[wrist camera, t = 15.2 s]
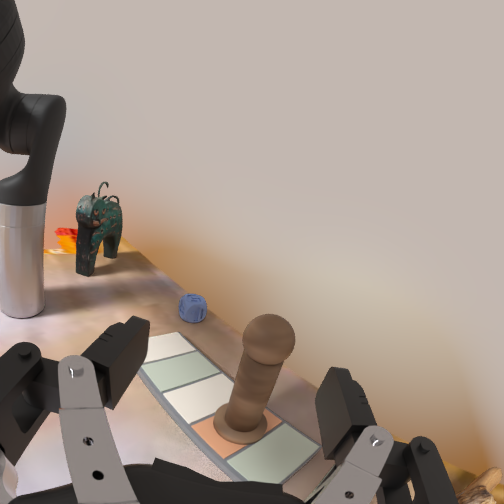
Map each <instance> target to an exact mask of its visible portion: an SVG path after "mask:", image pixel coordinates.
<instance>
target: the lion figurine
mask: <svg viewBox="0 0 504 504" xmlns="http://www.w3.org/2000/svg"><path fill="white" fill-rule="evenodd" d="M501 478H502V472H501V468H497V467H493V468H490V469H488V470H487V471H485V472H483V473H482V474H481V475H480V476H478V477H477V478H476V479H475V480H474V481H473V482H472V483H471V484H470V485H469V486H468V487H467V488H465V489H464V490H463V491H461V492H459V493H457V494H455V495H456V498H457V500H458V503H459V504H496V501H495V500H494V499H493V495H492V494H490V492H491V491H492V490H493V489H494V488H495V486H496V485H497V484H498V483H499V482H500V480H501Z"/></svg>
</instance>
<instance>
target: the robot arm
mask: <svg viewBox="0 0 504 504" xmlns="http://www.w3.org/2000/svg"><path fill="white" fill-rule="evenodd" d="M24 47H25V38H24V33H23V29H22V25H21V22H20V18H19V14H18V11H17V7H16V4H15V1H14V0H0V148H1V149H2V150H3V151H5V152H7V153H11V154H21V155H30V157H29V160H28V163H27V165H26V166H25V168H24V169H23V170H22V171H20V172H18V173H17V174H15V175H13V176H10V177H8V178H5V179H2V180H1V181H0V309H1V311H2V312H3V313H4V314H6V315H8V316H11V317H15V318H26V317H31V316H34V315H36V314H38V313H40V312H41V311H42V310H43V309H44V307H45V296H44V267H43V254H44V227H45V213H46V203H47V202H46V201H47V194H48V189H49V184H50V180H51V174H52V169H53V163H54V159H55V155H56V151H57V147H58V144H59V140H60V137H61V133H62V130H63V126H64V122H65V117H66V102H65V100H64V98H63V97H61V96H58V95H46V94H24V93H20V92H18V91H17V90H16V89H15V87H14V86H13V84H12V82H13V81H14V78H15V76H16V74H17V72H18V69H19V66H20V64H21V61H22V58H23V54H24ZM149 329H150V322H149V321H148V320H145V319H142V318H139V317H136V316H132V317H131V318H130V319H129V320H128V321H127V322H126V323H125V324H123V323H121V322H119V323H116V324H114V325H111V326H109V327H108V328H107V329H106V330H105V331H104V333H102V334H101V335H100V336H99V338H97V339H96V340H95V341H94V342H93V343H92V344H91V345H90V346H89V347H88V348H87V349H86V350H85V351H84V352H83V353H82V354H81V355H80V356H78V355H71V356H67V357H65V358H63V359H62V360H61V361H60V362H59V361H54V360H50V359H47V358H43V357H42V356H41V352H40V349H39V348H38V347H37V346H36V345H35V344H32V343H29V342H21V343H17V344H15V345H14V346H12V347H11V348H10V349H9V350H8V351H7V352H6V353H5V354H3V355H2V356H1V357H0V504H370V502H371V500H372V499H373V497H374V495H375V493H376V496H377V502H378V504H459V503H458V500H457V498H456V495H455V492H454V489H453V487H452V484H451V482H450V479H449V476H448V474H447V471H446V469H445V467H444V464H443V462H442V459H441V457H440V455H439V453H438V450H437V448H436V446H435V444H434V443H433V442H432V441H431V440H430V439H428V438H426V437H422V436H418V437H415V438H413V440H412V441H411V442H410V443H409V444H406V443H402V442H397V441H394V440H393V437H392V435H391V434H390V432H388V431H387V430H386V429H384V428H382V427H380V426H377V423H376V421H375V418H374V416H373V413H372V410H371V408H370V405H368V401H367V398H366V395H365V393H364V390H363V388H362V387H361V386H360V385H359V384H358V383H357V382H356V381H354V380H352V377H351V375H350V372H349V370H348V369H345V368H338V367H331V368H330V369H329V371H328V372H327V374H326V376H325V379H324V380H323V382H322V384H321V386H320V388H319V390H318V392H317V394H316V398H315V405H316V411H317V417H318V422H319V428H320V434H321V440H322V446H323V452H324V458H325V460H335V465H334V466H333V467H332V468H331V469H330V471H329V472H328V473H327V475H326V476H325V477H324V478H323V480H322V481H321V482H320V483H319V485H318V486H317V487H316V488H315V489H314V491H313V492H312V493H311V494H310V495H309V496H308V497H307V498H306V499H305V500H304V501H302V500H300V499H299V498H297V497H295V496H293V495H290V494H288V493H285V492H283V488H282V484H276V483H266V482H258V481H237V482H219V481H215V480H213V479H210V478H208V477H206V476H204V475H202V474H199V473H197V472H195V471H193V470H191V469H189V468H187V467H184V466H180V465H177V464H173V463H170V462H167V461H164V460H161V459H158V458H155V460H154V463H153V465H151V464H129V465H122V462H121V460H120V457H119V454H118V451H117V448H116V445H115V442H114V439H113V436H112V433H111V430H110V427H109V423H108V420H107V416H106V413H105V409H104V407H107V408H109V409H112V410H114V408H115V406H116V405H117V403H118V402H119V400H120V398H121V397H122V395H123V394H124V392H125V391H126V389H127V387H128V386H129V384H130V383H131V381H132V380H133V378H134V377H135V375H136V373H137V372H138V370H139V369H140V367H141V366H142V364H143V363H144V361H145V359H146V356H147V352H148V342H149ZM50 412H54V413H58V414H59V417H60V425H61V432H62V438H63V444H64V449H65V454H66V459H67V463H68V468H69V472H70V476H71V479H72V483H70V484H67V485H63V486H60V487H56V488H52V489H48V490H44V491H40V492H35V493H31V494H26V495H21V496H18V497H17V495H16V488H17V483H18V474H17V471H16V469H15V467H14V466H15V465H16V463H17V461H18V460H19V458H20V457H21V455H22V454H23V452H24V450H25V449H26V447H27V446H28V444H29V443H30V441H31V440H32V438H33V437H34V435H35V434H36V432H37V431H38V429H39V428H40V426H41V425H42V423H43V422H44V421H45V419H46V418H47V416H48V415H49V413H50ZM410 480H411V481H412V484H413V488H414V491H415V497H414V500H413V501H412V499H411V495H410V491H409V488H408V484H407V483H408V482H409V481H410Z"/></svg>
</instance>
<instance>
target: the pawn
mask: <svg viewBox="0 0 504 504" xmlns="http://www.w3.org/2000/svg"><path fill="white" fill-rule="evenodd" d="M294 345H295V333H294V330H293V328H292V326H291V325H290V324H289V322H287V321H286V320H285V319H284V318H282V317H280V316H278V315H274V314H265V315H261V316H258V317H256V318H255V319H253V320H252V321H251V322H250V323H249V324H248V325H247V327H246V329H245V331H244V334H243V346H244V351H243V355H242V358H241V362H240V365H239V369H238V372H237V376H236V379H235V382H234V386H233V389H232V393H231V396H230V399H229V403H226V404H223V405H222V406H220V407H219V408H218V409H217V411H216V413H215V416H214V420H213V425H214V428H215V430H216V432H217V433H218V434H219V435H220V436H221V437H222V438H223V439H225V440H227V441H228V442H231V443H234V444H239V445H249V444H253V443H256V442H257V441H259V440H260V439H261V438H262V437H263V436H264V433H265V431H266V429H267V419H266V417H265V416H264V414H263V412H264V410H265V407H266V405H267V402H268V400H269V398H270V395H271V393H272V390H273V388H274V385H275V383H276V380H277V378H278V375H279V372H280V370H281V367H282V365H283V362H284V360H285V359H287V358H288V357H289V356H290V354H291V353H292V351H293V349H294Z"/></svg>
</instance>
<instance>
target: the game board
mask: <svg viewBox="0 0 504 504" xmlns="http://www.w3.org/2000/svg"><path fill="white" fill-rule="evenodd" d="M137 374H138V375H139V377H140V378H141V380H142V381H143V382H144V384H145V385H146V386H147V388H148V389H149V390H150V392H151V393H152V394H153V396H154V397H155V398H156V399H157V401H158V402H159V403H160V404H161V406H162V407H163V408H164V409H165V411H166V412H167V413H168V414H169V415H170V417H171V418H172V419H173V420H174V421H175V422H176V424H177V425H178V426H179V427H180V428H181V429H182V430H183V432H184V433H185V434H186V435H187V436H188V437H189V438H190V439H191V440H192V441H193V442H194V443H195V445H196V446H197V447H198V448H199V449H200V450H201V451H202V452H203V453H204V454H205V455H206V456H207V457H208V458H209V459H210V460H211V461H212V462H213V463H214V464H215V465H216V466H218V467H219V468H220V469H221V470H222V471H223V472H224V473H225V474H226V475H227V476H228V477H229V478H231V479H232V480H233V481H234V482H237V481H258V482H266V483H276V484H282V485H283V484H284V483H285V482H286V481H287V480H288V479H290V478H291V477H292V476H293V475H294V474H295V473H296V472H298V471H299V470H300V469H301V468H302V467H303V466H304V465H305V464H306V463H307V462H308V461H309V460H311V459H312V458H313V457H314V456H315V455H316V454H317V453H318V452H319V450H320V449H321V447H322V445H320V444H319V443H317V442H315V441H314V440H312V439H311V438H309V437H308V436H306V435H305V434H303V433H302V432H300V431H299V430H298V429H296V428H295V427H293V426H292V425H290V424H289V423H288V422H286V421H285V420H283V419H282V418H281V417H279V416H278V415H277V414H275V413H274V412H273V411H271V410H270V409H269V408H267V407H265V410H264V412H263V414H264V416H265V417H266V419H267V429H266V431H265V433H264V436H263V437H262V438H261V439H260V440H259V441H257V442H256V443H253V444H249V445H239V444H234V443H231V442H228V441H227V440H225V439H223V438H222V437H221V436H220V435H219V434H218V433H217V432H216V430H215V428H214V425H213V420H214V416H215V413H216V411H217V409H218V408H219V407H220V406H222V405H223V404H226V403H229V399H230V396H231V393H232V389H233V386H234V381H233V380H232V379H231V378H230V377H228V376H227V375H226V374H225V373H224V372H223V371H221V370H220V369H219V368H218V367H217V366H216V365H215V364H213V363H212V362H211V361H210V360H209V359H208V358H207V357H206V356H204V355H203V354H202V353H201V352H200V351H199V350H198V349H197V348H196V347H195V346H194V345H193V344H191V343H190V342H189V341H188V340H187V339H186V338H185V337H184V336H183V335H182V334H181V333H180V332H174V333H169V334H164V335H159V336H154V337H149V342H148V352H147V356H146V359H145V361H144V363H143V364H142V366H141V367H140V369H139V370H138V372H137Z"/></svg>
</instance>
